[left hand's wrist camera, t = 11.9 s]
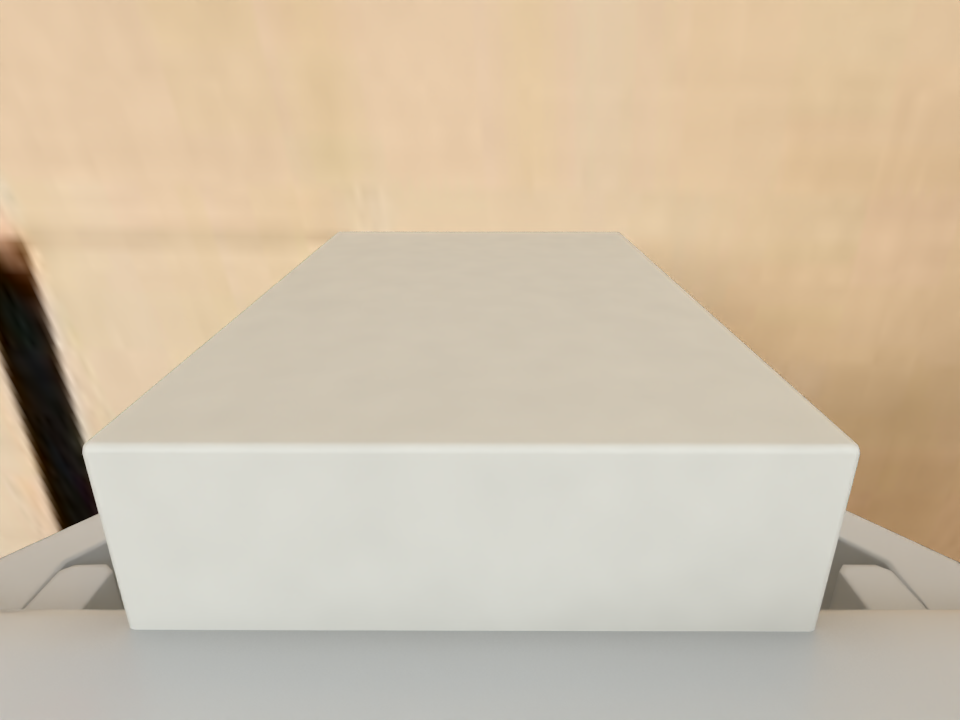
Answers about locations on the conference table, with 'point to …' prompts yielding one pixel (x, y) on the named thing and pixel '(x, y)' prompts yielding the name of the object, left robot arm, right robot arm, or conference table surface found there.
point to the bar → (473, 454)
